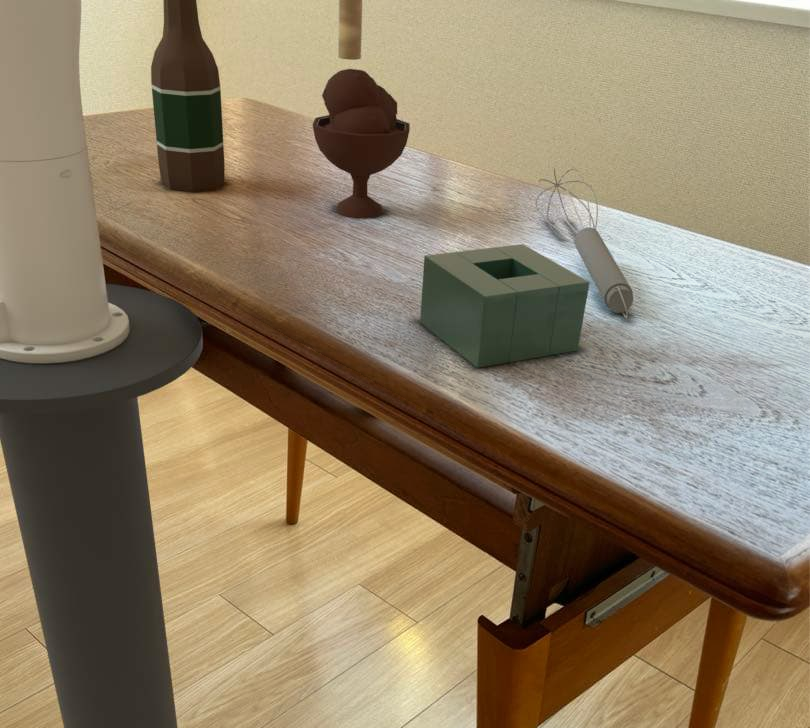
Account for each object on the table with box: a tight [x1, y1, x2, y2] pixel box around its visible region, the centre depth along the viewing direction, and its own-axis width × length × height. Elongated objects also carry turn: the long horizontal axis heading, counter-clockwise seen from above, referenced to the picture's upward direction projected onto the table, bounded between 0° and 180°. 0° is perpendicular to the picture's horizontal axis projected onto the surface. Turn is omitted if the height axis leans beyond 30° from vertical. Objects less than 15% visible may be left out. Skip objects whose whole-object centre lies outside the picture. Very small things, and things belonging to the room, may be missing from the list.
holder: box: [419, 243, 590, 369], centre depth 80 cm, size 10×10×6 cm
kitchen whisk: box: [535, 167, 634, 319], centre depth 97 cm, size 6×34×6 cm, turn 4°
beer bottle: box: [150, 0, 226, 193], centre depth 108 cm, size 8×8×24 cm
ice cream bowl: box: [312, 68, 411, 219], centre depth 105 cm, size 11×11×15 cm
